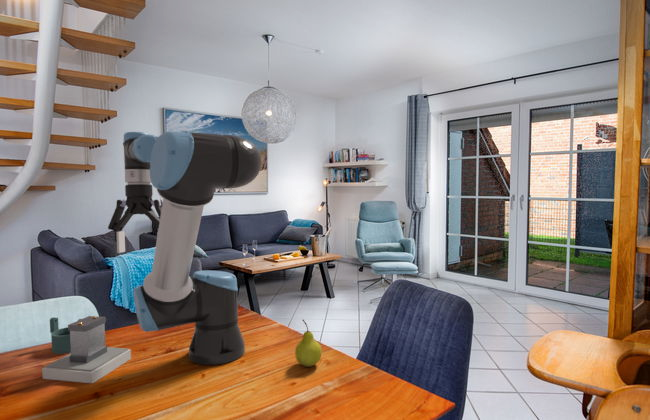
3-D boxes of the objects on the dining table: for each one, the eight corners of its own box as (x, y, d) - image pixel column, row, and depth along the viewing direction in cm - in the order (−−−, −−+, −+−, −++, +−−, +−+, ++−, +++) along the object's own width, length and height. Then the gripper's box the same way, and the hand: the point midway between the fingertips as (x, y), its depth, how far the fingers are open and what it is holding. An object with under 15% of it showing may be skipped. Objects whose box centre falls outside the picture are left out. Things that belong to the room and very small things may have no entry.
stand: (131, 358, 109) (130, 347, 109) (92, 383, 95) (91, 371, 95) (86, 355, 112) (86, 344, 112) (42, 378, 98) (42, 366, 98)
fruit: (327, 365, 104) (326, 320, 104) (309, 374, 99) (308, 326, 99) (308, 357, 109) (308, 314, 108) (290, 366, 104) (289, 320, 103)
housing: (90, 350, 107) (89, 314, 107) (107, 351, 106) (105, 315, 106) (69, 361, 100) (67, 323, 100) (87, 363, 100) (85, 324, 99)
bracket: (87, 350, 116) (86, 319, 115) (48, 356, 111) (47, 325, 111) (87, 340, 123) (86, 311, 123) (51, 346, 119) (50, 316, 118)
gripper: (93, 184, 120) (96, 253, 121) (169, 183, 116) (171, 255, 117) (110, 184, 127) (113, 250, 129) (183, 183, 123) (184, 251, 125)
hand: (141, 252), depth 123 cm, fingers open, 13 cm apart
